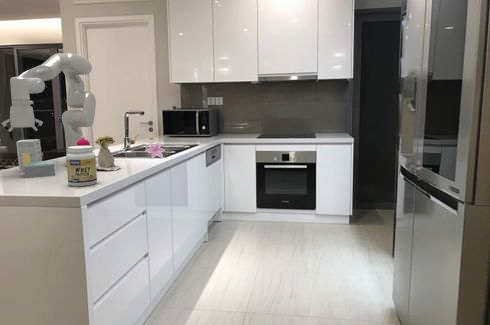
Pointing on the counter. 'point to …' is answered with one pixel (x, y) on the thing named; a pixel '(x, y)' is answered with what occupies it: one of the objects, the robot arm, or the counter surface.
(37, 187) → the counter surface
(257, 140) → the counter surface
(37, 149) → the supplement box
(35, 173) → the tub
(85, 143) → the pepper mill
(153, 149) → the lily
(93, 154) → the supplement tub
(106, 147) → the potted plant
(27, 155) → the lid
